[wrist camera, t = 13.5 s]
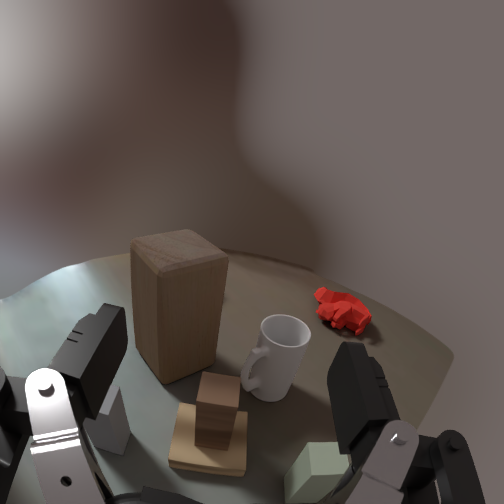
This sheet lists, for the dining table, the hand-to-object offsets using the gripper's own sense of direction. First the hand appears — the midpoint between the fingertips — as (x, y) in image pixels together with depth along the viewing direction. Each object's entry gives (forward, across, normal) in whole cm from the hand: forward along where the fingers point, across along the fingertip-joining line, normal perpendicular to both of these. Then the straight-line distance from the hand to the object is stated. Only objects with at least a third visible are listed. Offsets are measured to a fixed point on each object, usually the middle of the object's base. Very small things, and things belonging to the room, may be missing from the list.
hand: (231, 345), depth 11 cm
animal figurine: (+45, +23, -30) cm, 59 cm away
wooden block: (+26, -8, -30) cm, 40 cm away
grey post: (+8, -12, -29) cm, 33 cm away
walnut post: (+11, 0, -27) cm, 29 cm away
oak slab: (+11, 0, -30) cm, 32 cm away
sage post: (+5, +12, -29) cm, 32 cm away
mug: (+22, +6, -30) cm, 37 cm away
